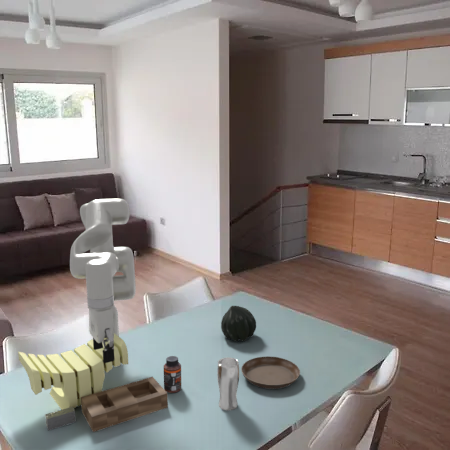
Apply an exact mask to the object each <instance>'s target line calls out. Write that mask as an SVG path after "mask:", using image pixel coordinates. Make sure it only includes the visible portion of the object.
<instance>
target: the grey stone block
mask: <svg viewBox="0 0 450 450" xmlns="http://www.w3.org/2000/svg"><path fill="white" fill-rule="evenodd" d="M44 415H45V425H46V428H47V431H52V430H55V429H58V428H62V427H64V426H68V425H71V424H75V423H76V422H77V421H76V410H75V408H73V406H72V407H69V408H66V409H62V410H61V409H60V410H57V411H53V412H49V413H46V414H44Z"/></svg>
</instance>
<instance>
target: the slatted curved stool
mask: <svg viewBox="0 0 450 450" xmlns="http://www.w3.org/2000/svg"><path fill="white" fill-rule="evenodd" d="M105 339H107V338H104V340H105ZM86 342H87V343H86V344H85V343H83V344H82V345H80V346H77V347H76V348H73V350H72V349H70V350H67V351H63V352H60V354H59V353H51V354H45V355H44V354H36V355H35V354H33V353H27V354H26V352H22V351H17V353H18V354H17V355H18V361H19V362H20V363H21V365H22V367H23V368H24V370H25V372H26V375H27V377H28V380H29V383H30V389H31V391H32V393H34V395H35V396H37V395H38V394H41V393H42V392H43V390H44V391H47V390H50V389H51V390H50V392H49V395H50V396H51V397H52V399H53V400H54V402H55V403H56V404H57V406H58V407H59V408H60V410H62V409H66V408H69V407H72V406H73V408H74V409H77V407H80V406H81V397H84V396H87V395H91V394H94V393H98V392H101V391H103V387H104V383H105V382H104V381H105V378H106V376H105V374H106V373H107V374H108V373H109V372H110V371H111V370H112V369H113V367H114V368H116V367H120V366H121V364H122V365H123V366H124V365H129V353H128V352H129V351H128V347H127V345H126V341H124V339H122V338H121V337H120V335H119V336H117V335H116V334H115V333H114V358H115V360H114V361H112V362H108V363H104V362H103V350H104V348H101V349H97V350H94V347H93V338H92V339H90V340H89V341H86ZM105 344H106V345H107V344H108V342H105Z"/></svg>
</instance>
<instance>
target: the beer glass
mask: <svg viewBox="0 0 450 450" xmlns="http://www.w3.org/2000/svg"><path fill="white" fill-rule="evenodd" d="M239 363H240V362H239V360H238V359H237V358H234V357H223V358H220V359H219V360H218V361H217V371H216V372H217V374H216V377H217V384H218V389H219V401H218V407H219V408H220V409H221V410H223V411H233V410H236V409H237V408H238V399H237V395H238V394H237V393H238V388H239V382H240V381H239V380H240V366H239V365H240V364H239Z"/></svg>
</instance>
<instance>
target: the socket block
mask: <svg viewBox="0 0 450 450" xmlns="http://www.w3.org/2000/svg"><path fill="white" fill-rule="evenodd" d="M168 403H169V399H168V392H166V391H165V390H164V387H162V386H161V384H160V383H159V382H158V381H157V380H156V379H155V378H154V377H153V376H150V377H146V378H142V379H139V380H137V381H132V382H128V383H126V384H123V385H119V386H115V387H111V388H109V389H105V390H102V391H101V392H98V393H94V394H91V395H87V396H84V397H81V412H82V414H83V417H84V418H85V421H86V422H87V424H88V425H89V428H90V429H91V431H92V433H94V432H99V431H101V430H104V429H106V428H107V429H108V428H111V427H114V426H115V425H116V426H117V425H119V424H123V423H125V422H128V421H131V420H134V419H138V418H140V417H143V416H147V415H149V414H150V415H151V414H152V413H155V412H159V411H161V410H165V409H167V408H168V407H169V404H168Z"/></svg>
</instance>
